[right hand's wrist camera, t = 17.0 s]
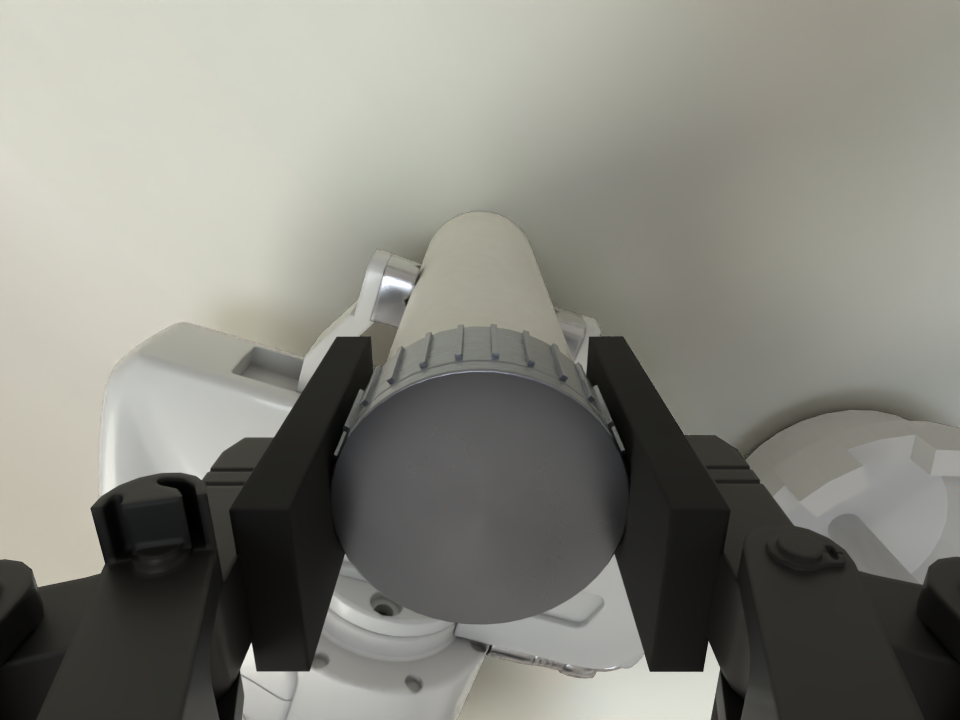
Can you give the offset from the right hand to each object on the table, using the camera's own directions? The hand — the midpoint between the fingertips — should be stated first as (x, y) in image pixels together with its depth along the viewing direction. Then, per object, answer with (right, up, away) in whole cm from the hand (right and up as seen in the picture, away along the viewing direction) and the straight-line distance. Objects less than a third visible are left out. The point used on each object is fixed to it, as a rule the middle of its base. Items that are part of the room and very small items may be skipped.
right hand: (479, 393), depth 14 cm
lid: (0, -2, -4) cm, 4 cm away
